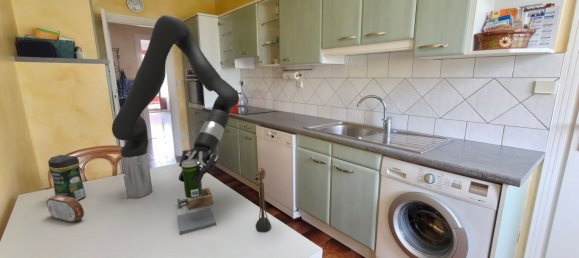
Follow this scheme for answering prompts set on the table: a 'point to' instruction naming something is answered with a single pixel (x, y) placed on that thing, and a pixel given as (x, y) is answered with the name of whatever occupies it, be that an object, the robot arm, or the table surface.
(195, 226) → the slate mat
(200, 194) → the beer can
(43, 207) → the table surface
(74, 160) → the coffee jar
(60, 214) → the tin
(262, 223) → the wooden tabletop sculpture
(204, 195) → the light wood square frame
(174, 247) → the table surface
